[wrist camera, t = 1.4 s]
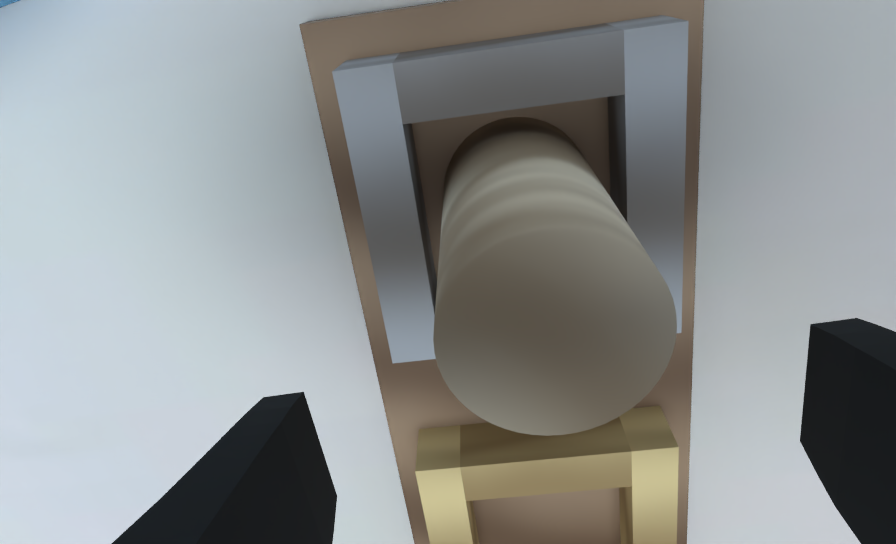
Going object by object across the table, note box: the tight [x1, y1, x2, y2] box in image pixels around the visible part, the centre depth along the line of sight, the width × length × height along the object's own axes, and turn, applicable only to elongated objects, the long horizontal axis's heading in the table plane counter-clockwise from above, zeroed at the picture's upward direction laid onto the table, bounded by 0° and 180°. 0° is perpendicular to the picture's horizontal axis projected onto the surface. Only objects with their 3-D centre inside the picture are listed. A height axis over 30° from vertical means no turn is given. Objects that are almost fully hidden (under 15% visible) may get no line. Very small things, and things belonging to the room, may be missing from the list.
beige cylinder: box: [433, 117, 677, 436], centre depth 14 cm, size 4×4×8 cm
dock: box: [300, 0, 704, 544], centre depth 20 cm, size 22×10×3 cm, turn 8°
